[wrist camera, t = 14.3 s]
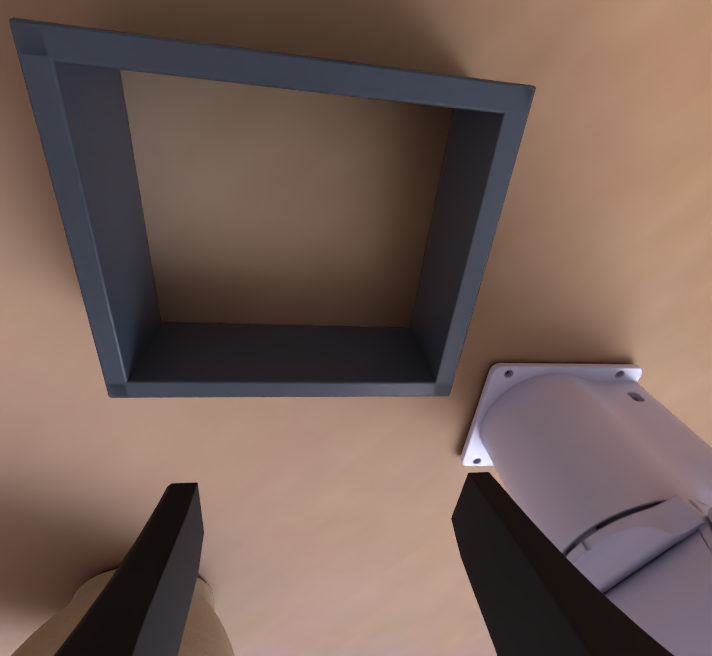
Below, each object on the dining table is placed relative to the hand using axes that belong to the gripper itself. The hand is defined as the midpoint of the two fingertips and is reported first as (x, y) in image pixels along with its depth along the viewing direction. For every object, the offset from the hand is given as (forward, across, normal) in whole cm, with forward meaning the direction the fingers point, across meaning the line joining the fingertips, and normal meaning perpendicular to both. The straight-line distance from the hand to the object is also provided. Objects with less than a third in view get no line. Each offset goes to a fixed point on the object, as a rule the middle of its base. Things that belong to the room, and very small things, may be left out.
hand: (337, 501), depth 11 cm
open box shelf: (+10, +1, -4) cm, 11 cm away
